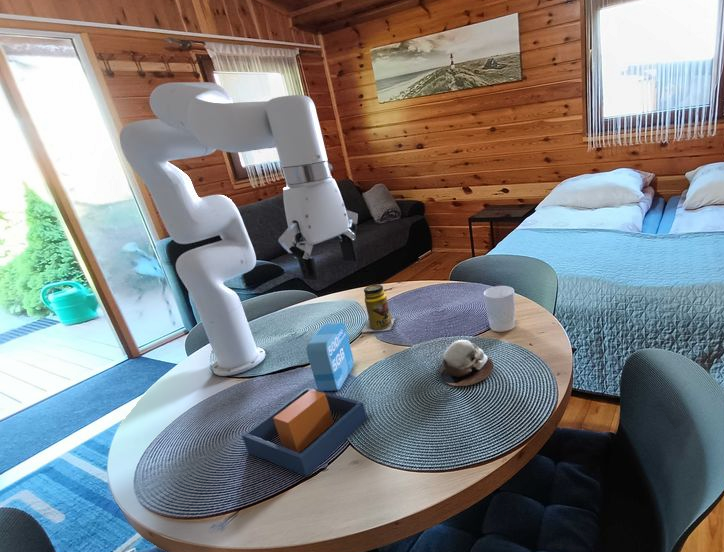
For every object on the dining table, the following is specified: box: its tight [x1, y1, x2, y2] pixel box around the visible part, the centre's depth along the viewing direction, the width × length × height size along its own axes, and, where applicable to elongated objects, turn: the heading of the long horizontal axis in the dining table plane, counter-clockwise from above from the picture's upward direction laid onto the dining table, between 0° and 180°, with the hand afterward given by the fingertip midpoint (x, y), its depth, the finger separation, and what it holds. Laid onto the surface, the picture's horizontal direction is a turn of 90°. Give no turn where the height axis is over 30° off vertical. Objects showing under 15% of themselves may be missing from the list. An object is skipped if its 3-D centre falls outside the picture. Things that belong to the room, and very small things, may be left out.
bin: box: [241, 387, 368, 477], centre depth 82 cm, size 16×16×4 cm
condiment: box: [360, 283, 396, 333], centre depth 122 cm, size 7×8×12 cm
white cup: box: [483, 285, 516, 333], centre depth 113 cm, size 8×8×10 cm
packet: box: [273, 390, 335, 454], centre depth 81 cm, size 4×9×7 cm, turn 152°
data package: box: [306, 322, 355, 392], centre depth 98 cm, size 12×4×12 cm, turn 176°
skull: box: [439, 339, 494, 387], centre depth 96 cm, size 12×10×10 cm
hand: (332, 269), depth 80 cm, fingers open, 9 cm apart
